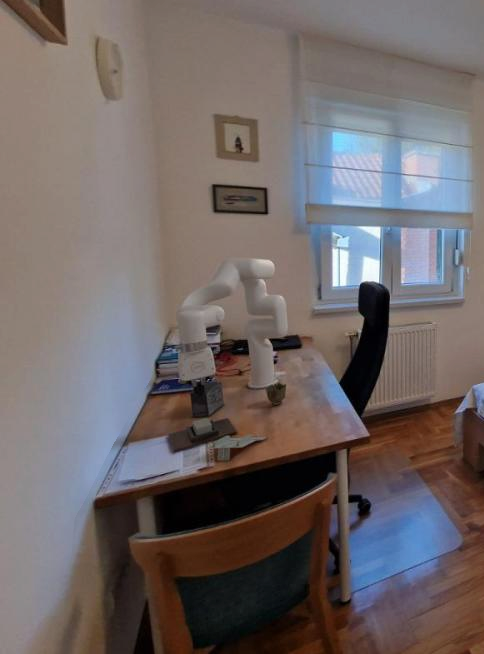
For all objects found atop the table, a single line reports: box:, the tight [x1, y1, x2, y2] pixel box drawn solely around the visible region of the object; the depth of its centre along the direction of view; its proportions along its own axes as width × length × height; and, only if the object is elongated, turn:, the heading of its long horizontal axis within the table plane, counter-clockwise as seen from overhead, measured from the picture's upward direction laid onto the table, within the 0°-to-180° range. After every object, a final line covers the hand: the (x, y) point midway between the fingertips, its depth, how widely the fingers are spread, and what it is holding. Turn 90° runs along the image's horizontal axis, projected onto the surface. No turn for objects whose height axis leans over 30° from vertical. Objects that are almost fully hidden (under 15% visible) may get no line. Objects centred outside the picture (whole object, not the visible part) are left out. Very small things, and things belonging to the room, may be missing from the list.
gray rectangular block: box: [191, 417, 212, 436], centre depth 147 cm, size 4×7×4 cm, turn 46°
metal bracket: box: [205, 434, 267, 462], centre depth 139 cm, size 14×6×15 cm
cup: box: [265, 382, 287, 407], centre depth 172 cm, size 8×7×8 cm
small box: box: [189, 381, 225, 418], centre depth 165 cm, size 11×6×10 cm, turn 5°
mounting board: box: [168, 417, 238, 454], centre depth 147 cm, size 18×14×2 cm
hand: (199, 395), depth 146 cm, fingers closed
